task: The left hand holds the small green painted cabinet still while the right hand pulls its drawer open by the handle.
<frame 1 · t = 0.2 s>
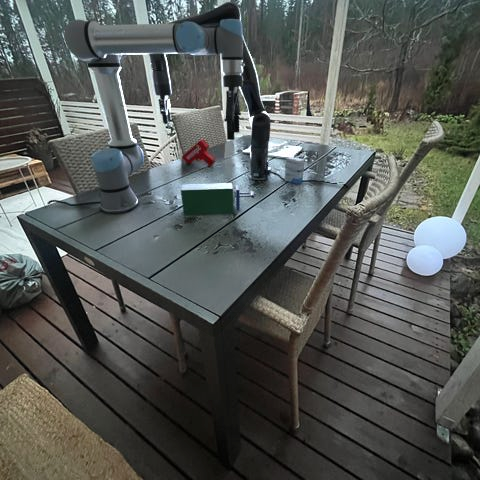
left hand: (233, 135, 110), 28 cm above the table, tool pointing down, fingers open, 13 cm apart
right hand: (167, 122, 130), 29 cm above the table, tool pointing down, fingers open, 8 cm apart
relief map: (273, 151, 194), on the table
toy gun: (199, 164, 169), on the table
cabinet: (208, 211, 115), on the table
drawer: (223, 198, 112), point 5 cm above the table, slide at 1.5 cm
ink box: (293, 181, 143), on the table
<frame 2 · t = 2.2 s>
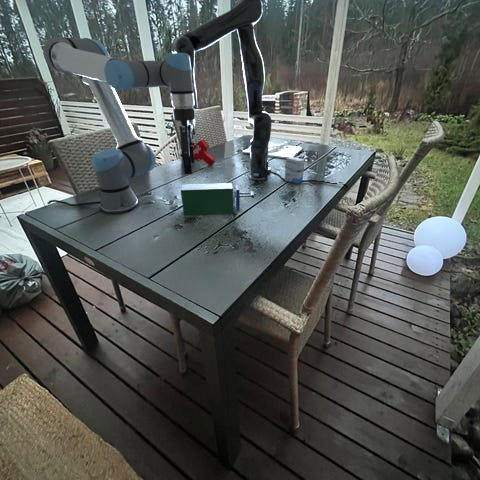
left hand: (189, 168, 105), 19 cm above the table, tool pointing down, fingers open, 13 cm apart
right hand: (191, 137, 122), 25 cm above the table, tool pointing down, fingers open, 8 cm apart
nothing on the table moved.
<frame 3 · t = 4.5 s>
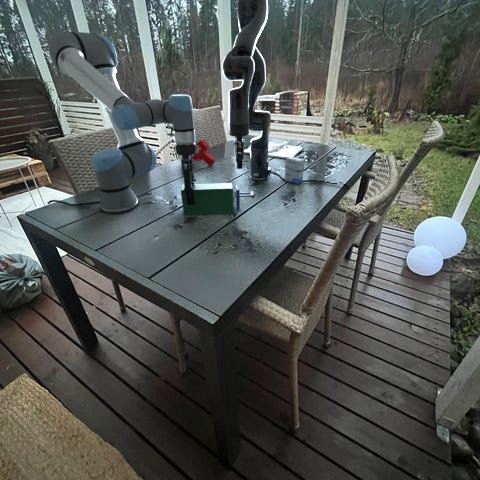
left hand: (191, 200, 112), 5 cm above the table, tool pointing down, fingers closed on cabinet, 6 cm apart
right hand: (239, 165, 108), 18 cm above the table, tool pointing down, fingers open, 8 cm apart
cabinet: (208, 211, 115), on the table, touching left hand
everything else where it was.
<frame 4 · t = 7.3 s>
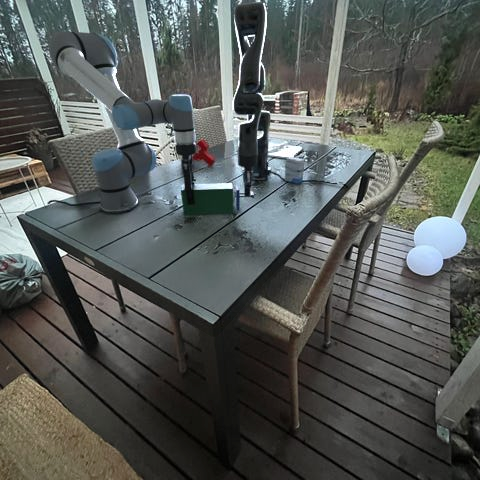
left hand: (191, 200, 112), 5 cm above the table, tool pointing down, fingers closed on cabinet, 6 cm apart
right hand: (247, 195, 112), 7 cm above the table, tool pointing down, fingers closed
cabinet: (208, 211, 115), on the table, touching left hand
drawer: (223, 198, 112), point 5 cm above the table, slide at 1.5 cm, touching right hand
everything else where it was.
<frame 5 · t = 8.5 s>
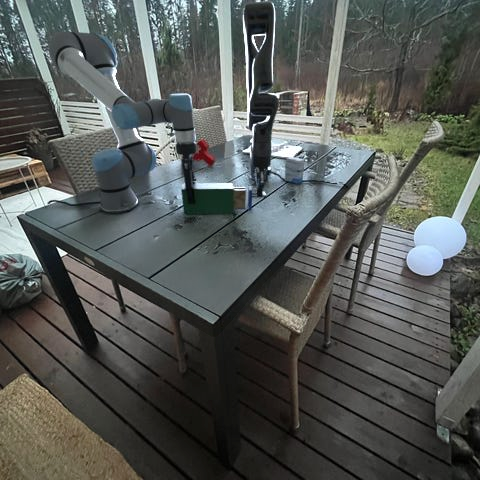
left hand: (192, 199, 111), 5 cm above the table, tool pointing down, fingers closed on cabinet, 6 cm apart
right hand: (259, 195, 112), 6 cm above the table, tool pointing down, fingers closed
cabinet: (209, 210, 115), on the table, touching left hand
drawer: (235, 198, 112), point 5 cm above the table, slide at 6.4 cm, touching right hand
everything else where it was.
when the left hand's fingers open (5 cm above the table, at t = 10.2 s): cabinet stays where it is, on the table.
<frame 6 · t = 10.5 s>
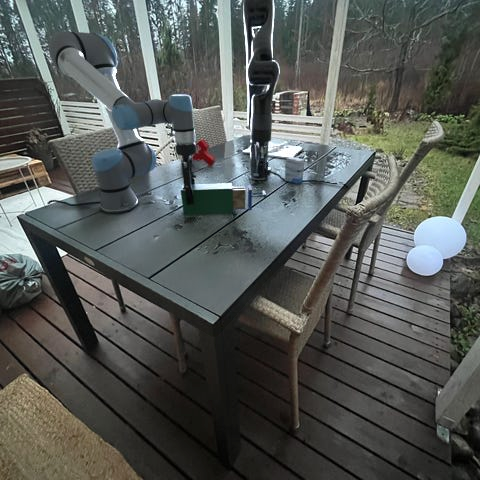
left hand: (191, 198, 111), 6 cm above the table, tool pointing down, fingers open, 10 cm apart
right hand: (259, 173, 107), 16 cm above the table, tool pointing down, fingers closed
cabinet: (208, 211, 115), on the table
drawer: (235, 198, 112), point 5 cm above the table, slide at 6.5 cm
everything else where it was.
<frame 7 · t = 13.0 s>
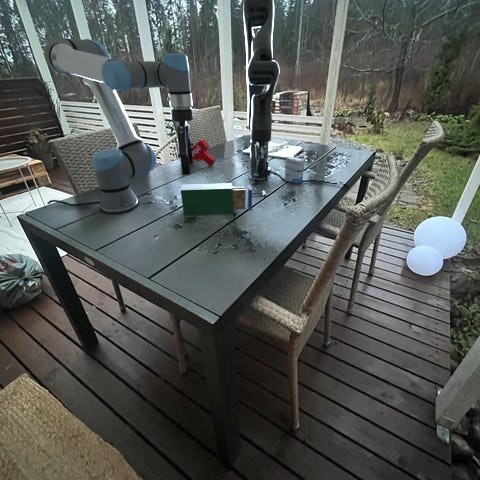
left hand: (188, 168, 104), 18 cm above the table, tool pointing down, fingers open, 13 cm apart
right hand: (259, 173, 107), 16 cm above the table, tool pointing down, fingers closed
nothing on the table moved.
at the end: drawer slide at 6.5 cm; cabinet tilted 0°; cabinet never tilted more than 2° during the clip; cabinet moved 0.0 cm from its start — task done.
